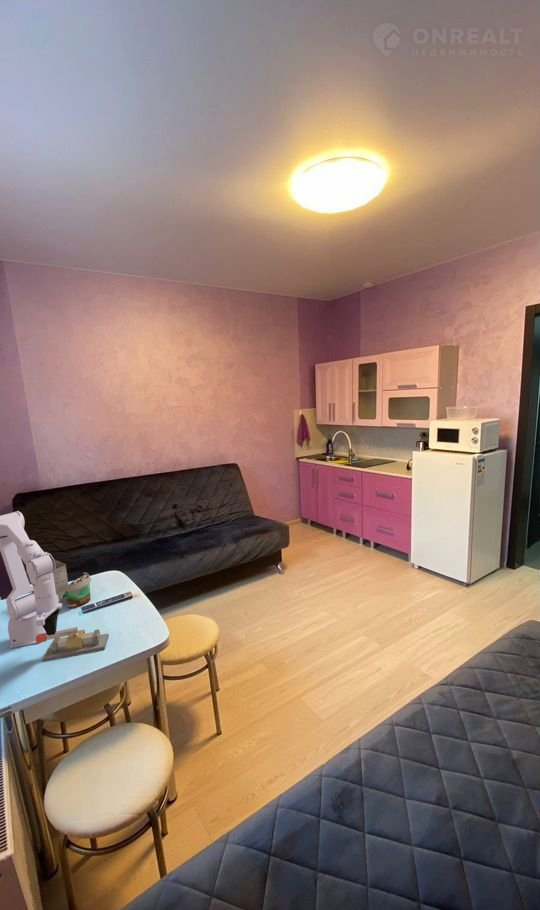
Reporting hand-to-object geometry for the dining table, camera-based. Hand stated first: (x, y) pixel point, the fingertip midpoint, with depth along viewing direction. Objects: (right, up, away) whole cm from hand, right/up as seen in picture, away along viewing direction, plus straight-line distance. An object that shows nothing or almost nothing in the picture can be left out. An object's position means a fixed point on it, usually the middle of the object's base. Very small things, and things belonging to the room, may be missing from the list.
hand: (51, 633), depth 120 cm
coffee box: (-18, -3, +35) cm, 40 cm away
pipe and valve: (+6, -7, +4) cm, 10 cm away
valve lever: (+1, -2, +2) cm, 3 cm away
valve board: (+6, -7, +4) cm, 10 cm away
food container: (-6, -3, +33) cm, 34 cm away
